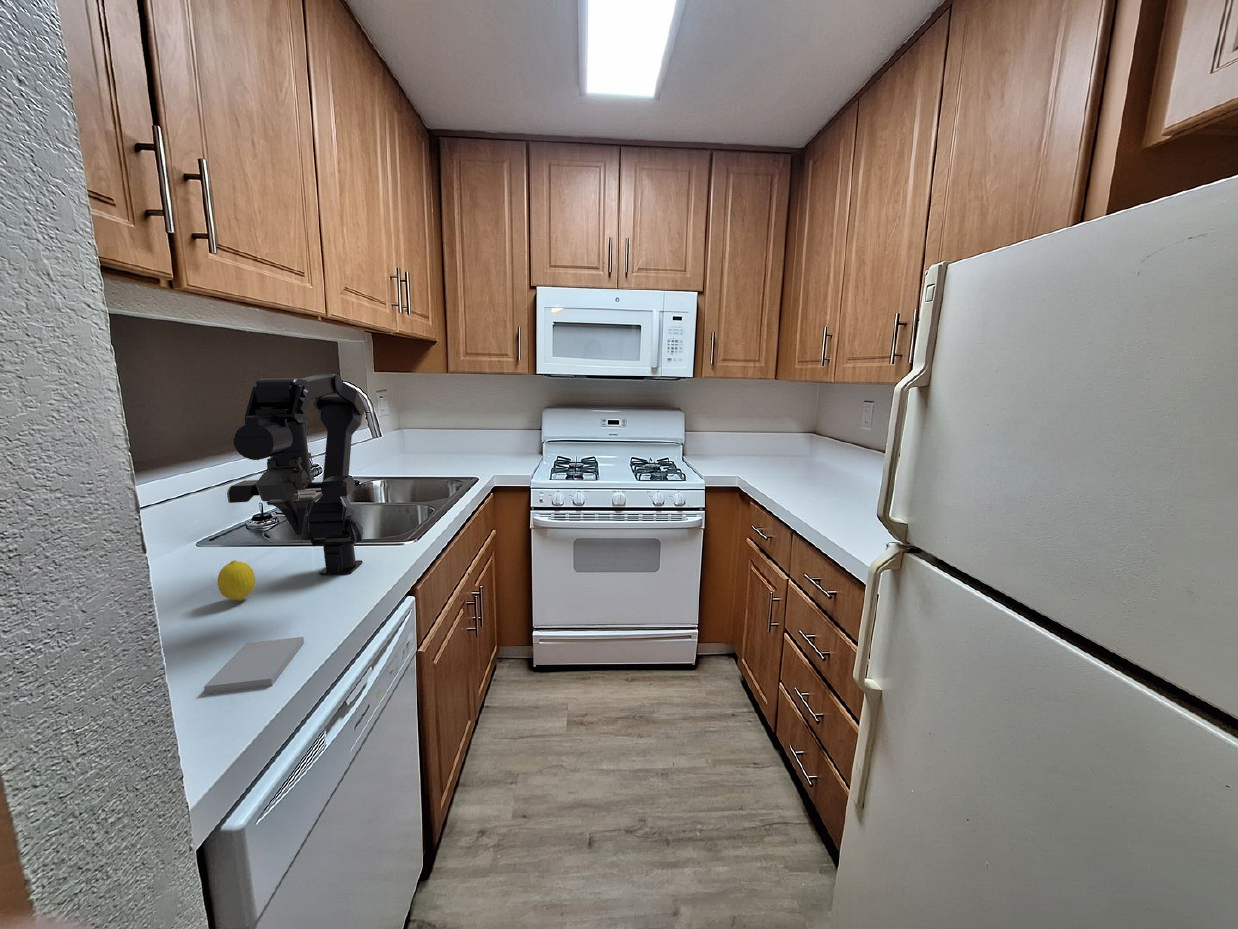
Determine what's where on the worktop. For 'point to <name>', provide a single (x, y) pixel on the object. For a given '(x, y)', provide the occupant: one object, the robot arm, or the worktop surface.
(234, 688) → the tile
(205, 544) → the worktop surface
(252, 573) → the lemon
